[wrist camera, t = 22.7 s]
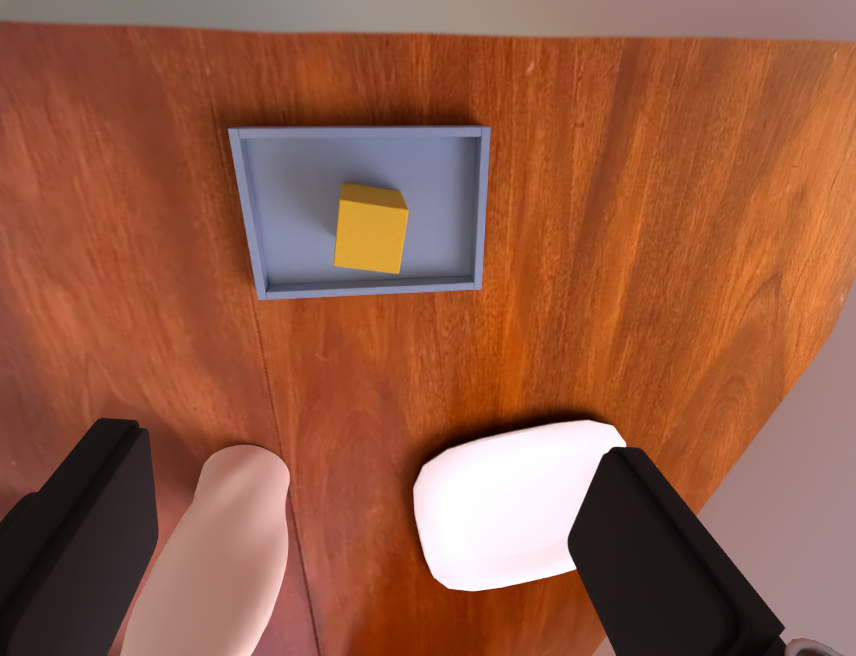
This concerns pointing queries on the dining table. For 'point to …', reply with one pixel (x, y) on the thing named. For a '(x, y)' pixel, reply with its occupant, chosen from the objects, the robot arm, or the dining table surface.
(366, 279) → the tray
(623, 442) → the plate
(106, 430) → the robot arm
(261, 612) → the water bottle
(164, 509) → the dining table surface
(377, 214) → the yellow block
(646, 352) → the dining table surface
